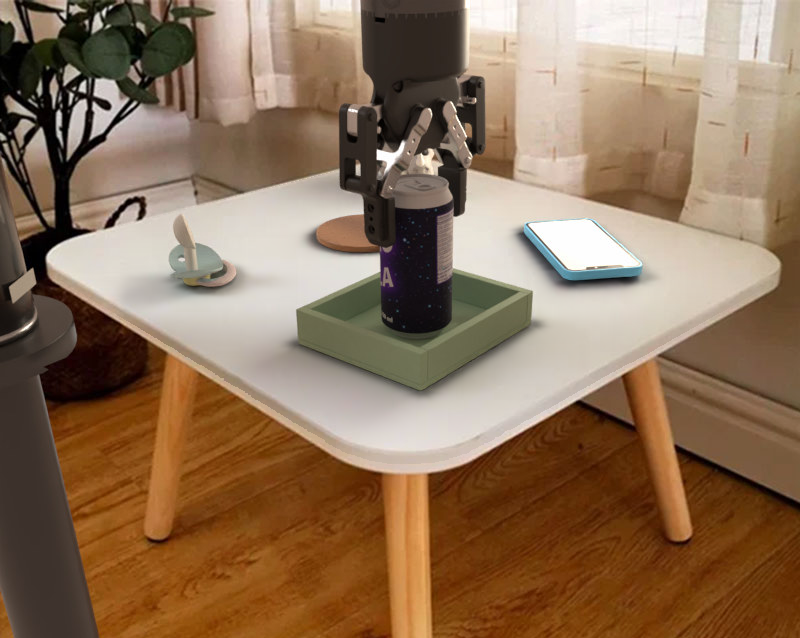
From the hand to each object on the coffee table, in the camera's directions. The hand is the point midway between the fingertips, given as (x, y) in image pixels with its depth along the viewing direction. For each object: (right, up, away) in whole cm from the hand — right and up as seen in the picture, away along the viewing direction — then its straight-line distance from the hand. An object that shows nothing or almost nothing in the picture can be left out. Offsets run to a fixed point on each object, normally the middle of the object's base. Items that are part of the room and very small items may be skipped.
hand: (417, 228), depth 72 cm
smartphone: (+16, +1, +20) cm, 26 cm away
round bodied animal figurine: (0, +12, +40) cm, 41 cm away
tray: (0, -8, +4) cm, 9 cm away
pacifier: (-20, -2, +15) cm, 25 cm away
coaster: (-5, +4, +25) cm, 26 cm away
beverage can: (0, -7, +4) cm, 9 cm away
